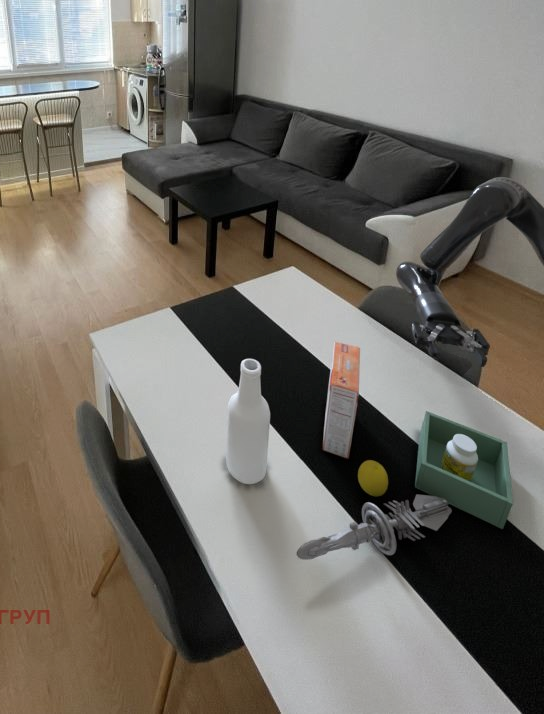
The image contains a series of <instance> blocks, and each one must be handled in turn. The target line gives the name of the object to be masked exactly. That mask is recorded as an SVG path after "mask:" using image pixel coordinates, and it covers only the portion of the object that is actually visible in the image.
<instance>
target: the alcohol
mask: <svg viewBox="0 0 544 714" xmlns="http://www.w3.org/2000/svg"><path fill="white" fill-rule="evenodd" d="M261 375H262V365H261V363H260V361H258V360H256V359H254V358H245V359H243V360H242V361H241V363H240V376H239V377H240V378H239V383H238V390H237V391H235V393H234V394H232V396H231V397H230V399H229V402H228V404H227V412H226V413H227V417H226V418H227V420H226V426H227V427H226V455H225V456H226V458H225V462H226V467H227V470H228V472H229V474H230V475H231V477H233V478H234V479H235V480H236V481H238V482H239V483H241V484H245V485H254V484H257V483H259V482H260V481H262V480H263V479H264V477H265V476H266V473H267V468H268V467H267V464H268V453H269V452H268V451H269V439H270V438H269V436H270V426H271V410H270V406H269V403H268V401H267V400H266V398H264V396H263V395H262V386H261Z"/></svg>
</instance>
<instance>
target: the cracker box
mask: <svg viewBox="0 0 544 714" xmlns="http://www.w3.org/2000/svg"><path fill="white" fill-rule="evenodd" d="M331 357H332V358H331V363H330V364H331V365H330V372H329V379H328V386H327V387H328V388H327V397H326V406H325V414H324V415H325V416H324V424H323V425H324V426H323V438H322V439H323V440H322V451H324V452H327V453H329V454H332V455H335V456H338V457H341V458H344V459H347V460H349V458H350V452H351V446H352V439H353V432H354V426H355V421H356V415H357V408H358V402H359V397H360V371H361V370H360V369H361V367H360V365H361V364H360V363H361V347H359V346H354V345H350V344H346V343H342V342H338V341H334V343H333V350H332V356H331Z"/></svg>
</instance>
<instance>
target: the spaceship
mask: <svg viewBox="0 0 544 714" xmlns="http://www.w3.org/2000/svg"><path fill="white" fill-rule="evenodd" d="M387 503H388V504H387ZM449 505H451V504H450V503H447V500H446V499H445V498H438V497H437V496H432V495H429V494H427V495H426V494H415V498H414V500H413V502H412V506H413V508H414V509H415V510H414V511H412V510H411V508H410V502H409V500H408V499H406V500H405V501H403V500H402V501H400V502H398V501H397V500H392V502H391V501H388V502H386V503H383V506H385V507H387V508H388V509H390V510H391V511H392V512H393V513H394V514H393V513H392V512H388V514H387V513H384V512H383V511H382V510H381V509H380V508H379V507H378V506H377V505H376V504H375V503H372V502H369V501H368V502H365V503H363V505H362V508H361V517H362V522H361V523H359V524H358V523H357V522H356V521H352V522H350V523H349V527H348V528H345V529H343V530H342V531H340V532H338V533H335V534H332V535H328V536H321V537H318V538H315V539H312V540H309V541H307V542H305V543H303V544H301V546H299V548H297V550H296V554H295V555H296V557H297V558H298V559H300V560H304V561H305V560H306V561H307V560H309V561H310V560H314V559H316V558H318V557H321V556H325V555H326V554H328V553H329V552H332V551H333V552H334V551H337V550H341V549H349V548H351V549H352V551H357V550H359V548H360V545H361V544H364V543H367V544H369V543H370V542H371V541H372V543H373V544H374V546H375V547H376V548H377V549H378V550H379V551H380V552H381V553H382V554H384V555H386V556H393V555H394V554H395V553H396V551H397V539H396V535H395V529H396V531H397V537H398V540H399V541H402V539H407V538H408V539H410V540H411V541H413V542H415V541H416V540H421V537H422V538H426V536H425V535H424V534H423V533H421V532H420V531H419V530H417V529H416V528H420V525H421V526H422V527H426V528H428V529H431V530H433V531H435V532H437V531H438V530H439V529H440V528H441V527H442V525H443V524H444V523H445V522H446V521H447V520H448V518H449V516H450V515H451V514H452V512H453V510H452V508H451V507H449ZM417 522H418V523H417ZM413 525H414V526H415V527H416V528H415V527H414V526H413ZM394 528H395V529H394ZM412 536H413V537H412Z"/></svg>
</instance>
